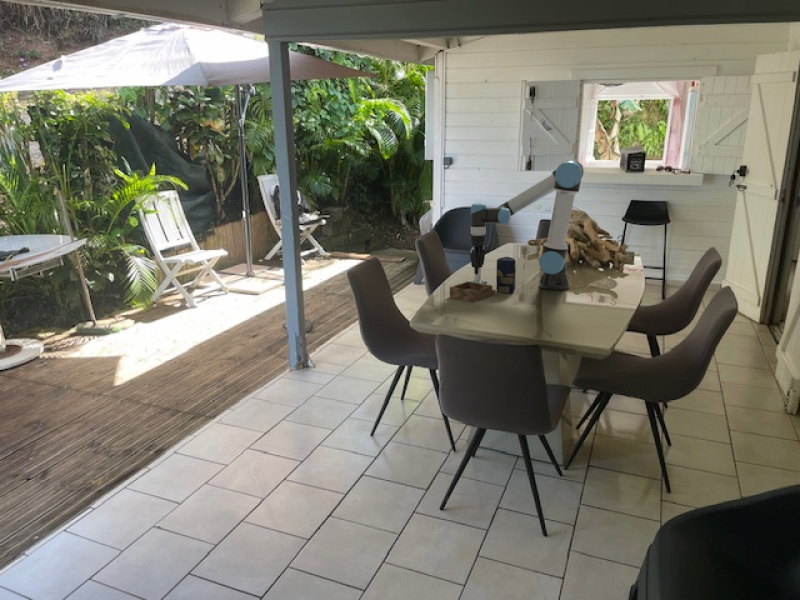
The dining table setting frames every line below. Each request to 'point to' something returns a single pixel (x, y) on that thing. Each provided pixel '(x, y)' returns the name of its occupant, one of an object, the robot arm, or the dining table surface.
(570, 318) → the dining table surface
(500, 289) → the canister
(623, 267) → the dining table surface
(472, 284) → the wooden tray
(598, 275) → the dining table surface
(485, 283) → the button console
